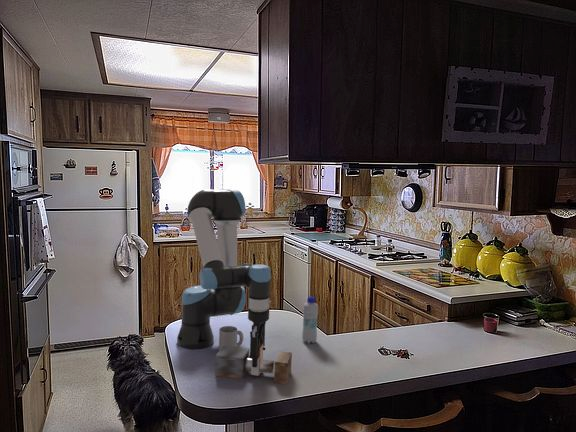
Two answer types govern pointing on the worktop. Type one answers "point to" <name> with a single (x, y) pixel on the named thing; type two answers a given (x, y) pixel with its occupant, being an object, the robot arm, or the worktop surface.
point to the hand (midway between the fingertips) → (256, 371)
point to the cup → (229, 337)
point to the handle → (260, 363)
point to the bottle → (310, 320)
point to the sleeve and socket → (233, 364)
